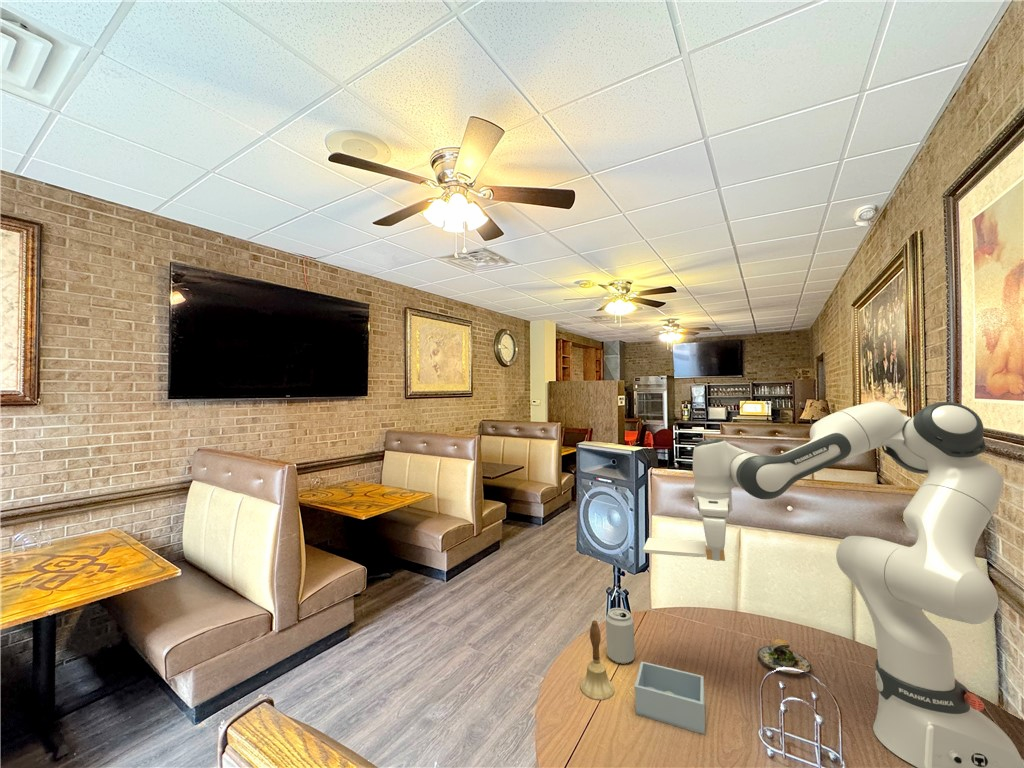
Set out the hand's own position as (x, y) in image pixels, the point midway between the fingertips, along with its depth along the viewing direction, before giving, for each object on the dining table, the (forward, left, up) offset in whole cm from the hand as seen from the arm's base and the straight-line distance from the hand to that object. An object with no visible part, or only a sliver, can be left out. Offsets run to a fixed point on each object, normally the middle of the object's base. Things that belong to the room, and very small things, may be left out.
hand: (715, 556), depth 104 cm
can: (+25, +1, -30) cm, 39 cm away
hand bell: (+28, +16, -30) cm, 44 cm away
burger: (-15, -13, -31) cm, 37 cm away
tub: (+11, +16, -30) cm, 36 cm away
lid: (+8, 0, -1) cm, 8 cm away
